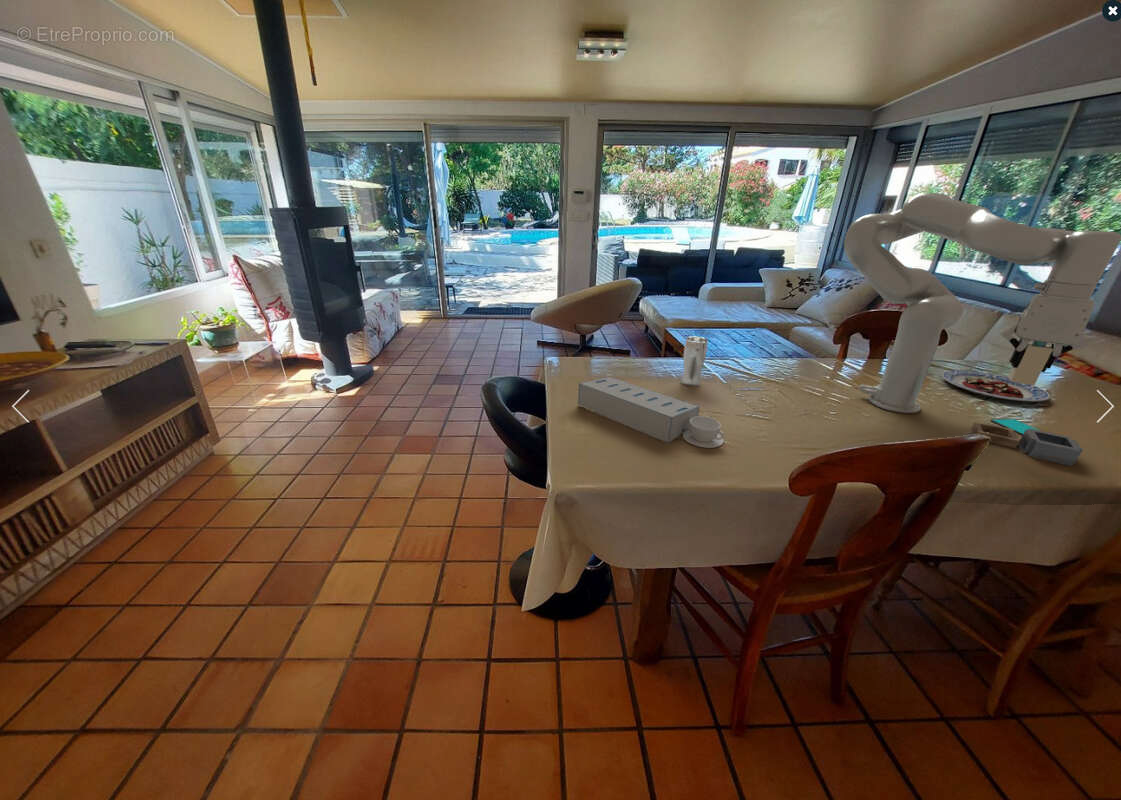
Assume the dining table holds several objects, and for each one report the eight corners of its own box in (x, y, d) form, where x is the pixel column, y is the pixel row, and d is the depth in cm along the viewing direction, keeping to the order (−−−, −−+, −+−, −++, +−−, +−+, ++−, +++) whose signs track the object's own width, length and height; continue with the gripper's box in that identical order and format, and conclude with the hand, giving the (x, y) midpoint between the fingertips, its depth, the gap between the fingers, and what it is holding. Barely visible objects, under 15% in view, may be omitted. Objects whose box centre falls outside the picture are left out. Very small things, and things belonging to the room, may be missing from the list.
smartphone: (1052, 447, 104) (990, 419, 117) (1050, 450, 104) (988, 422, 118) (1078, 446, 104) (1013, 418, 118) (1076, 449, 105) (1012, 421, 118)
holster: (975, 438, 108) (978, 431, 107) (971, 427, 114) (974, 421, 113) (1015, 448, 104) (1019, 440, 103) (1009, 436, 110) (1013, 429, 109)
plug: (1010, 381, 102) (1032, 339, 98) (1007, 376, 105) (1028, 335, 100) (1034, 385, 100) (1056, 342, 95) (1030, 380, 103) (1052, 338, 98)
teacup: (674, 438, 106) (677, 422, 104) (694, 426, 113) (696, 410, 111) (711, 454, 100) (715, 436, 98) (730, 439, 106) (733, 423, 104)
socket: (1024, 455, 101) (1032, 440, 99) (1016, 441, 107) (1024, 427, 106) (1076, 467, 96) (1085, 452, 95) (1065, 451, 103) (1073, 437, 101)
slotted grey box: (696, 425, 114) (700, 399, 110) (668, 444, 104) (672, 417, 101) (608, 393, 132) (609, 370, 129) (578, 407, 123) (578, 383, 120)
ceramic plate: (1067, 412, 123) (1072, 403, 122) (958, 398, 132) (962, 389, 131) (1019, 382, 145) (1023, 374, 144) (928, 371, 154) (931, 364, 153)
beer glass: (703, 381, 141) (711, 338, 135) (697, 388, 136) (705, 343, 130) (683, 377, 145) (689, 335, 138) (676, 383, 139) (683, 340, 133)
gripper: (1018, 288, 95) (982, 365, 103) (1131, 298, 86) (1083, 381, 94) (1011, 284, 100) (978, 357, 108) (1117, 293, 92) (1073, 371, 99)
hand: (1027, 367), depth 101 cm, fingers closed on plug, 4 cm apart
